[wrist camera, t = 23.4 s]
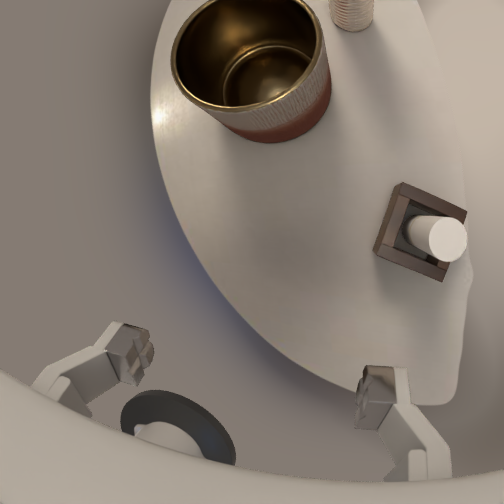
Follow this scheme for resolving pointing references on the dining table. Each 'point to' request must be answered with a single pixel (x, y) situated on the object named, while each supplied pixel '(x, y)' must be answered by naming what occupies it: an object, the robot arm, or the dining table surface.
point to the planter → (255, 66)
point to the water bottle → (351, 13)
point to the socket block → (392, 224)
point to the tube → (436, 236)
